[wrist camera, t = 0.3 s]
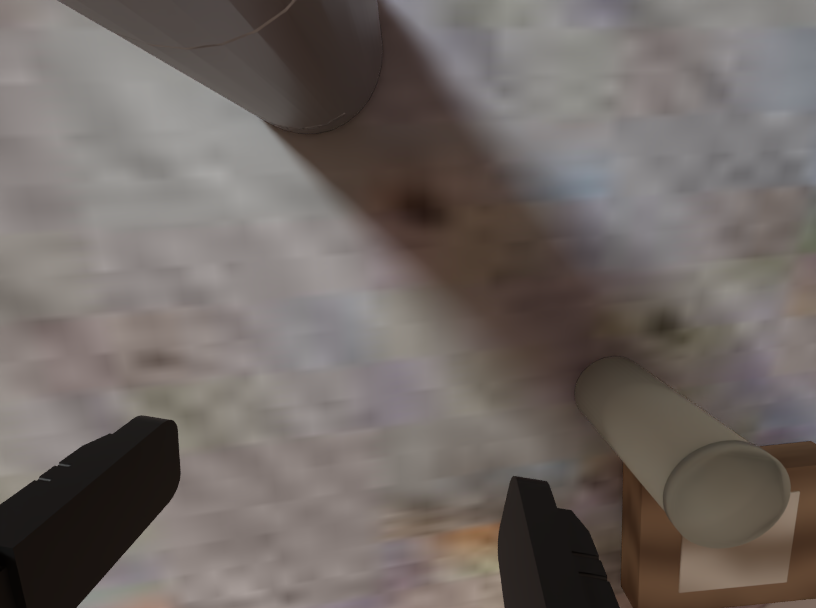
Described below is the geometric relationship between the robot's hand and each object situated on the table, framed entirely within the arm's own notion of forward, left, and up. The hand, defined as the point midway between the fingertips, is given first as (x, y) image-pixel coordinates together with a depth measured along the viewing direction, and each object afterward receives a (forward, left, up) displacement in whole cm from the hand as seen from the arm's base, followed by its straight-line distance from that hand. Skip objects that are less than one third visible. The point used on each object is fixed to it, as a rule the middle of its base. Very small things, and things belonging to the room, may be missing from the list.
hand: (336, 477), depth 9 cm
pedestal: (+21, +23, -18) cm, 36 cm away
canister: (+9, +15, -18) cm, 26 cm away
